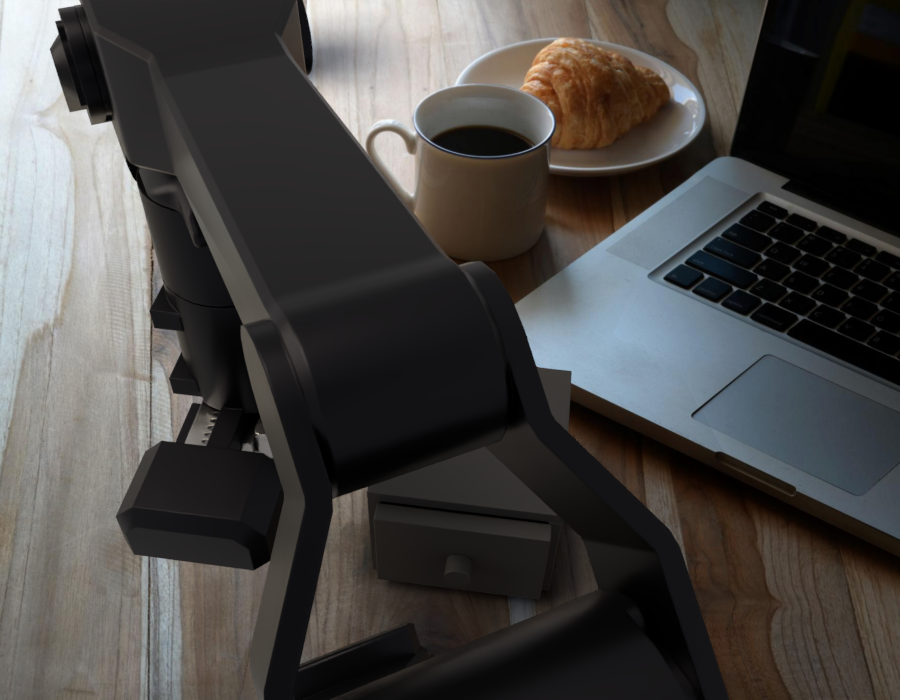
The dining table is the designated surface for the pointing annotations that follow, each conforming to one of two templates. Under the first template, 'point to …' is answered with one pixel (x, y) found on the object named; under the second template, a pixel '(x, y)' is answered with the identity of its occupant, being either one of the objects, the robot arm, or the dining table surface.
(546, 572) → the box
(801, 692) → the dining table surface
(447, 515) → the drawer
